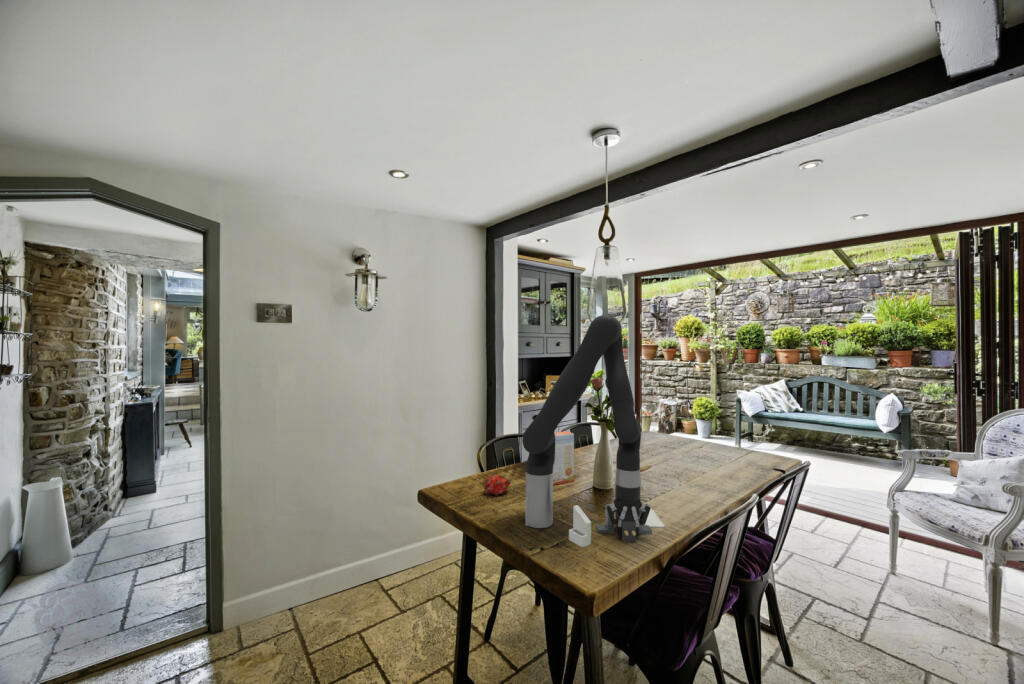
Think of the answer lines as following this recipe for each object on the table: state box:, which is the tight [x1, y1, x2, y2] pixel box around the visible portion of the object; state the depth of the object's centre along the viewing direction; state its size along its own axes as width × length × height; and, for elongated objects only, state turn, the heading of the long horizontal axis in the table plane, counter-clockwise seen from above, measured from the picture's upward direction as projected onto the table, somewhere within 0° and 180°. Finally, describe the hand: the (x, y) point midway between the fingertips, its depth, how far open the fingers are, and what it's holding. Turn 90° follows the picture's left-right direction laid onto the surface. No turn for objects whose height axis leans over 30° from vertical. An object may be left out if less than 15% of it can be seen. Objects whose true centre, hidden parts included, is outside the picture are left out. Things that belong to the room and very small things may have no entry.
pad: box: [645, 508, 666, 529], centre depth 146 cm, size 8×14×1 cm, turn 178°
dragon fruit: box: [482, 473, 511, 496], centre depth 169 cm, size 8×8×12 cm
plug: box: [614, 512, 637, 543], centre depth 134 cm, size 4×13×6 cm, turn 179°
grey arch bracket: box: [595, 505, 653, 535], centre depth 137 cm, size 17×4×8 cm, turn 88°
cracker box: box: [553, 430, 575, 486], centre depth 182 cm, size 14×6×21 cm, turn 115°
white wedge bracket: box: [568, 504, 592, 548], centre depth 130 cm, size 4×10×9 cm
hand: (627, 537), depth 132 cm, fingers closed on plug, 4 cm apart
